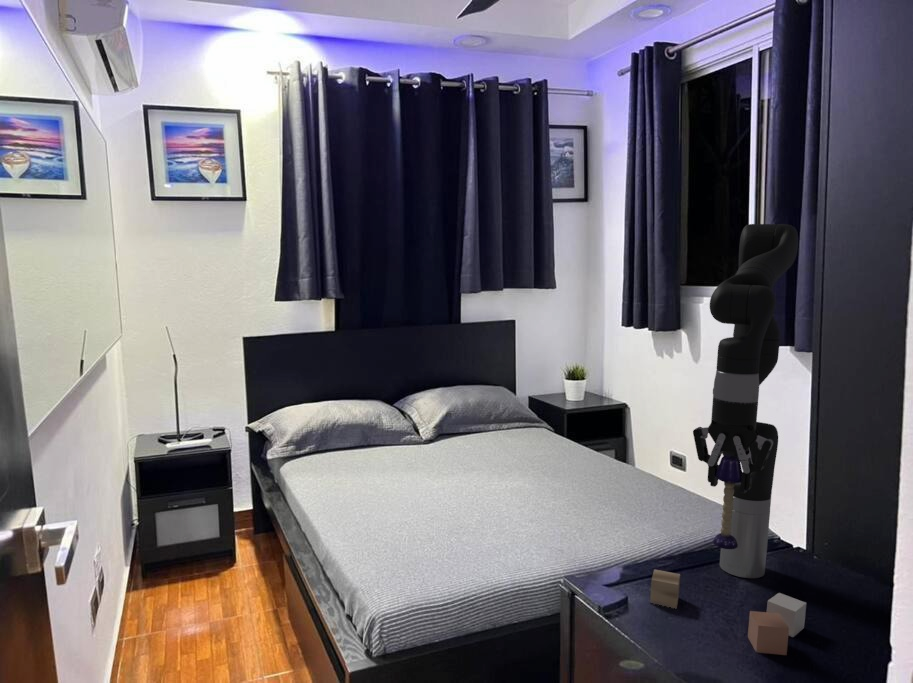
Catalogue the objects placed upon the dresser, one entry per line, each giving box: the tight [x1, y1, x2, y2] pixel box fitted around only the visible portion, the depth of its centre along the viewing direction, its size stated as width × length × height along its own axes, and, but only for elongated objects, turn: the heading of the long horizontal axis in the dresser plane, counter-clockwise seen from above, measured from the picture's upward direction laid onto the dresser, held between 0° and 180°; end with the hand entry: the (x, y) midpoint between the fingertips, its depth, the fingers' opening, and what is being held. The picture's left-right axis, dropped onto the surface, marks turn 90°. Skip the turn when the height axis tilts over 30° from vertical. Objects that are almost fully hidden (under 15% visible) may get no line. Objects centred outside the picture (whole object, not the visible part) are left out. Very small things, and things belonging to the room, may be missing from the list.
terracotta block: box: [747, 610, 789, 656], centre depth 120 cm, size 5×5×5 cm
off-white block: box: [766, 592, 807, 638], centre depth 126 cm, size 5×5×5 cm
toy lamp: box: [712, 455, 743, 549], centre depth 124 cm, size 5×5×17 cm
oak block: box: [649, 569, 681, 610], centre depth 135 cm, size 5×5×5 cm
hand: (728, 488), depth 124 cm, fingers closed on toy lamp, 4 cm apart
